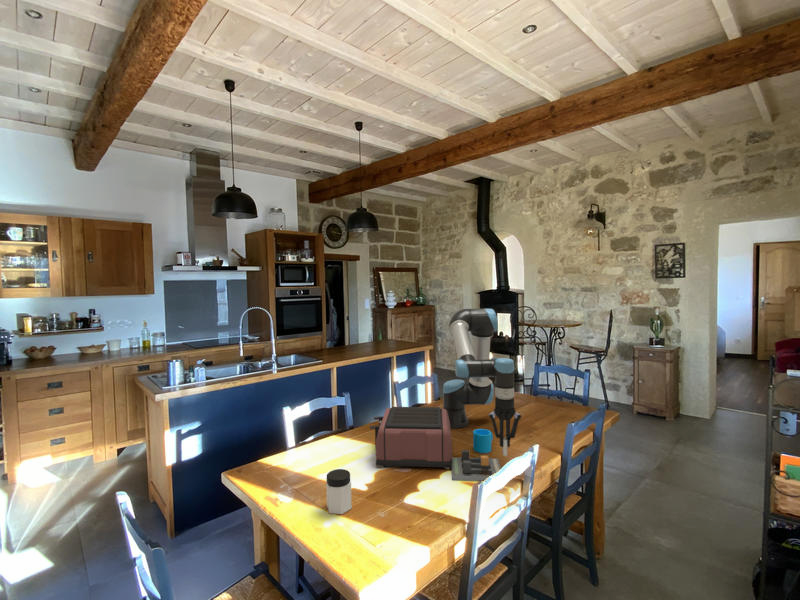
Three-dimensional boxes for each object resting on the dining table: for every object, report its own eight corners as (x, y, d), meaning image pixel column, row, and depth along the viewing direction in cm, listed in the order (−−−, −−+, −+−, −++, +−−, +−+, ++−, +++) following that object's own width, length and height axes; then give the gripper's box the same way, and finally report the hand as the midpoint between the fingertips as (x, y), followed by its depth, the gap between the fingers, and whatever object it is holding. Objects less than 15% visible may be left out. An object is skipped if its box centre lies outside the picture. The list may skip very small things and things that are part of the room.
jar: (341, 498, 148) (340, 466, 147) (356, 506, 143) (355, 472, 142) (321, 509, 141) (320, 475, 140) (337, 517, 136) (336, 483, 135)
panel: (451, 461, 176) (451, 456, 176) (498, 463, 174) (498, 458, 174) (452, 480, 160) (452, 474, 160) (504, 481, 158) (504, 476, 158)
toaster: (377, 439, 202) (376, 404, 201) (449, 440, 199) (449, 405, 198) (366, 468, 171) (366, 427, 170) (452, 470, 168) (452, 428, 167)
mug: (484, 454, 182) (484, 437, 182) (469, 449, 188) (469, 432, 188) (499, 447, 190) (499, 430, 190) (485, 442, 196) (485, 425, 196)
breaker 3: (480, 464, 168) (480, 455, 168) (488, 464, 168) (488, 455, 167) (481, 467, 165) (481, 458, 165) (488, 467, 165) (488, 458, 165)
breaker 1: (461, 458, 174) (461, 449, 173) (468, 458, 173) (468, 449, 173) (462, 461, 171) (462, 452, 171) (469, 461, 170) (469, 452, 170)
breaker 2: (463, 469, 164) (463, 460, 163) (470, 469, 163) (470, 460, 163) (463, 473, 161) (463, 463, 161) (471, 473, 161) (471, 463, 160)
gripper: (489, 399, 161) (489, 457, 162) (523, 399, 160) (523, 458, 161) (487, 394, 168) (487, 450, 169) (519, 394, 167) (519, 450, 168)
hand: (504, 454), depth 165 cm, fingers closed
